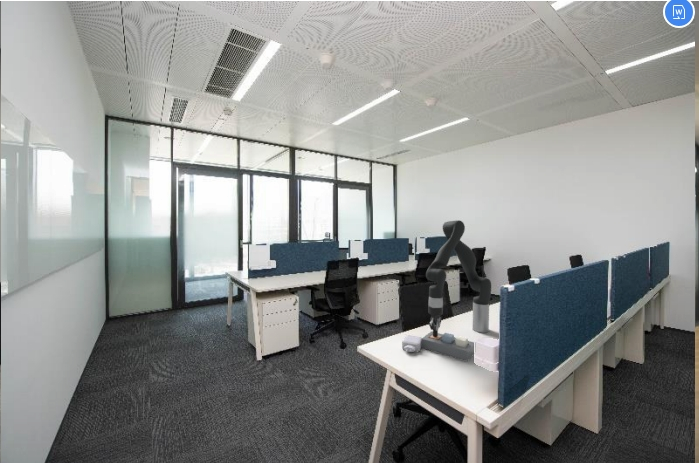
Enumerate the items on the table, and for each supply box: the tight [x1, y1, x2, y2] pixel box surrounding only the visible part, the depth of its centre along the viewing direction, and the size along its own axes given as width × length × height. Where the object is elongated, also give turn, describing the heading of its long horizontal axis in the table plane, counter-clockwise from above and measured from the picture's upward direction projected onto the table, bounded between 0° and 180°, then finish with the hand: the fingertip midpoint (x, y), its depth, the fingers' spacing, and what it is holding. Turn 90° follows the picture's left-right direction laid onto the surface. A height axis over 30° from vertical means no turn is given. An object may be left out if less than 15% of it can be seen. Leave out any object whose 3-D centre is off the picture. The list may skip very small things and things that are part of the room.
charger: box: [401, 334, 423, 353], centre depth 152 cm, size 5×9×15 cm
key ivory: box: [455, 335, 469, 348], centre depth 146 cm, size 5×5×5 cm
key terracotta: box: [429, 335, 441, 340], centre depth 155 cm, size 5×5×5 cm
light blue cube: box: [442, 332, 455, 344], centre depth 151 cm, size 5×5×5 cm
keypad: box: [421, 330, 475, 362], centre depth 151 cm, size 13×24×5 cm, turn 51°
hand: (435, 336), depth 155 cm, fingers closed
